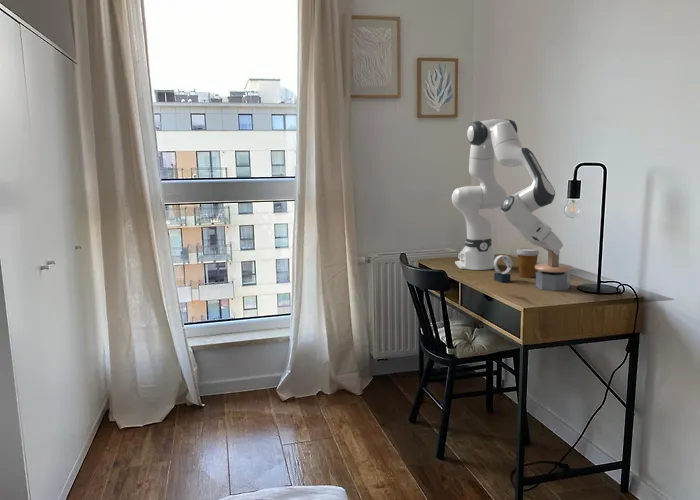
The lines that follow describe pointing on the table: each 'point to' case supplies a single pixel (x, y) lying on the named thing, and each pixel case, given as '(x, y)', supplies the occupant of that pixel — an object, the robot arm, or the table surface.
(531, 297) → the table surface
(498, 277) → the watch
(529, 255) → the disposable coffee cup
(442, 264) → the table surface
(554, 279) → the bowl
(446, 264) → the table surface
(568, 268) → the lid
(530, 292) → the table surface
